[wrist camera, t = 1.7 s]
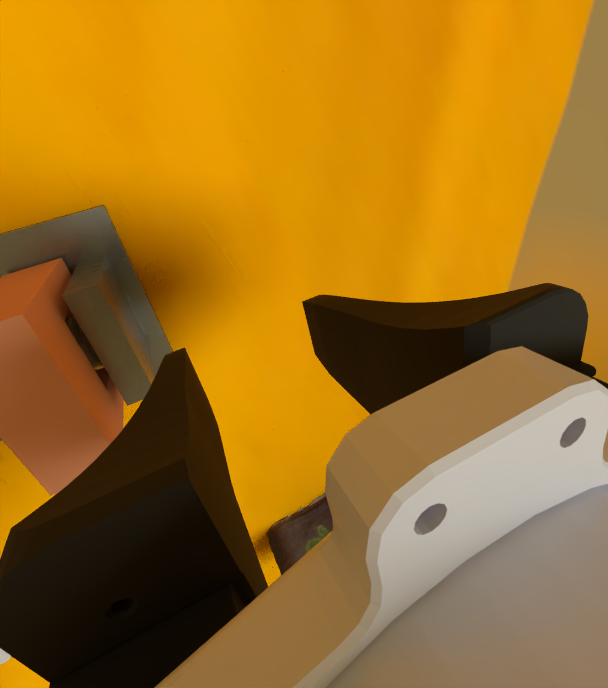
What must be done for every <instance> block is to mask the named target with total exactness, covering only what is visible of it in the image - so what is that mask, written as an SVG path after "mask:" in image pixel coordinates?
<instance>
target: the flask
mask: <svg viewBox="0 0 608 688" xmlns="http://www.w3.org/2000/svg"><path fill="white" fill-rule="evenodd" d="M332 530H333V521H332V515H331V512H330V508H329V505H328V501H327V498H326V495H325V494H324V495H322V496H319V497H318V498H317V499H315V500H314V501H313V502H312V503H311V504H310V505H309V507H307V508H301V509H300V510H299V511H298V512H297V513H295V514H294V515H290V516H289V515H288V517H286V518H285V519H283V520H281V521H279V522H276V523H274V524H273V526H272V527H271V529H270V530H269V532H268V533H266V534H268V537H269V544H270V546H271V550H272V552H273V554H274V557H275V560H276V563H277V565H278V567H279V569H280V572H281V575H283V574H284V573H285V572H286V571H287V570H288V569H289V568H291V567H292V566H293V565H294V564H295V563H296V562H297V561H298V560H300V559H301V558H302V557H303V556H304V555H305V554H306V553H308V552H309V551H310V550H311V549H312V548H313V547H314V546H315V545H317V544H318V543H319V542H320V541H321V540H322V539H323V538H325V537H326V536H327V535H328V534H329V533H330V532H331V531H332Z"/></svg>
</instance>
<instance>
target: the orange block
mask: <svg viewBox="0 0 608 688" xmlns="http://www.w3.org/2000/svg"><path fill="white" fill-rule="evenodd" d="M71 276H72V275H71V273H70V271H69V270H68V268H67V266H66V264H65V263H64V261H63V259H62V258H58V259H55V260H52V261H49V262H45V263H42V264H39V265H36V266H32V267H29V268H26V269H22V270H19V271H16V272H13V273H9V274H6V275H3V276H1V277H0V438H1V439H2V440H3V441H4V442H5V443H6V445H7V446H8V447H9V448H10V449H11V450H12V451H13V453H14V454H15V455H16V456H17V457H18V458H19V460H20V461H21V462H22V463H23V464H24V465H25V466H26V468H27V469H28V470H29V471H30V472H31V473H32V474H33V476H34V477H35V478H36V479H37V480H38V481H39V482H40V484H41V485H42V486H43V487H44V488H45V489H46V490H47V492H48V493H49V494H50V495H53V494H55V493H58V492H60V491H61V490H62V489H63V488H65V487H66V486H67V485H68V484H69V483H70V482H72V481H73V480H74V479H75V478H76V477H77V476H78V475H80V474H81V473H82V472H83V471H84V470H85V469H86V468H87V467H88V466H89V465H90V464H91V463H93V462H94V461H95V460H96V459H97V458H98V456H99V455H100V454H101V453H102V452H103V451H104V450H105V449H106V448H107V447H108V446H109V445H110V443H111V442H112V441H113V440H114V439H115V438H116V437H117V436H118V435H119V433H120V432H121V431H122V430H123V397H122V396H121V394H120V392H119V391H118V389H117V387H116V386H115V384H114V382H113V381H112V379H111V377H110V376H109V374H108V372H107V371H106V369H105V367H103V368H101V369H98V370H94V368H93V366H92V365H91V363H90V361H89V360H88V358H87V357H86V355H85V353H84V352H83V350H82V348H81V347H80V345H79V344H78V342H77V340H76V339H75V337H74V336H73V334H72V332H71V331H70V329H69V327H68V326H67V324H66V323H65V318H67V317H70V316H73V314H72V312H71V310H70V309H69V307H68V305H67V304H66V302H65V300H64V299H63V297H62V295H63V293H64V291H65V289H66V287H67V285H68V283H69V280H70V278H71Z"/></svg>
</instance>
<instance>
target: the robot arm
mask: <svg viewBox="0 0 608 688" xmlns="http://www.w3.org/2000/svg"><path fill="white" fill-rule="evenodd" d="M302 303H303V307H304V311H305V315H306V319H307V323H308V327H309V331H310V336H311V340H312V344H313V348H314V352H315V355H316V356H317V358H318V359H319V360H320V362H321V363H322V364H323V366H324V367H325V368H326V370H327V371H328V372H329V374H330V375H331V376H332V377H333V378H334V379H335V380H336V381H337V382H338V383H339V384H340V385H341V386H342V387H343V388H344V389H345V390H346V391H347V392H348V393H349V394H350V395H351V396H352V397H354V398H355V399H356V400H357V401H358V402H359V403H360V404H361V405H362V406H363V407H364V408H365V409H366V410H367V411H368V412H369V413H370V414H371V415H370V416H368V417H367V418H366V419H364V420H363V421H362V422H360V423H359V424H358V425H357V426H355V427H354V428H353V429H351V430H350V431H349V432H347V433H346V434H345V436H344V438H343V439H342V441H341V443H340V444H339V446H338V447H337V449H336V451H335V452H334V454H333V456H332V457H331V459H330V461H329V462H328V464H327V470H326V486H325V495H326V498H327V501H328V505H329V508H330V512H331V515H332V521H333V530H332V531H331V532H330V533H329V534H328V535H327V536H326V537H325V538H323V539H322V540H321V541H320V542H319V543H318V544H317V545H315V546H314V547H313V548H312V549H311V550H310V551H309V552H308V553H306V554H305V555H304V556H303V557H302V558H301V559H300V560H298V561H297V562H296V563H295V564H294V565H293V566H292V567H291V568H289V569H288V570H287V571H286V572H285V573H284V574H283V575H281V576H280V577H279V578H278V579H277V580H276V581H275V582H273V583H272V584H271V585H270V586H269V587H268V585H267V582H266V580H265V577H264V574H263V572H262V569H261V566H260V563H259V561H258V558H257V555H256V552H255V550H254V547H253V544H252V541H251V539H250V536H249V533H248V530H247V528H246V525H245V522H244V519H243V516H242V514H241V511H240V508H239V505H238V502H237V500H236V497H235V494H234V490H233V487H232V483H231V479H230V475H229V470H228V466H227V462H226V458H225V453H224V449H223V445H222V441H221V436H220V432H219V428H218V424H217V421H216V419H215V416H214V414H213V411H212V408H211V406H210V403H209V400H208V398H207V396H206V394H205V392H204V389H203V387H202V385H201V383H200V380H199V378H198V376H197V374H196V372H195V369H194V367H193V365H192V363H191V361H190V358H189V356H188V354H187V352H186V349H185V348H182V349H180V350H177V351H175V352H172V353H170V354H167V355H165V356H164V358H163V360H162V362H161V364H160V367H159V369H158V371H157V374H156V376H155V378H154V380H153V382H152V384H151V386H150V388H149V390H148V392H147V394H146V396H145V397H144V399H143V401H142V402H141V404H140V406H139V408H138V409H137V411H136V412H135V414H134V415H133V416H132V418H131V419H130V421H129V422H128V423H127V425H126V426H125V427H124V428H123V430H122V431H121V432H120V433H119V435H118V436H117V437H116V438H115V439H114V440H113V441H112V442H111V443H110V445H109V446H108V447H107V448H106V449H105V450H104V451H103V452H102V453H101V454H100V455H99V456H98V458H97V459H96V460H95V461H94V462H93V463H91V464H90V465H89V466H88V467H87V468H86V469H85V470H84V471H83V472H82V473H81V474H80V475H78V476H77V477H76V478H75V479H74V480H73V481H72V482H70V483H69V484H68V485H67V486H66V487H65V488H63V489H62V490H61V491H60V492H59V493H57V494H56V495H55V496H54V497H52V498H51V499H50V500H48V501H47V502H46V503H44V504H43V505H42V506H40V507H39V508H38V509H36V510H35V511H34V512H32V513H31V514H30V515H28V516H27V517H26V518H25V519H23V520H22V521H20V522H19V523H18V524H16V525H15V526H13V527H12V528H11V530H10V533H9V535H8V538H7V541H6V544H5V547H4V550H3V553H2V556H1V559H0V664H2V663H4V662H6V661H7V660H9V659H10V658H11V656H12V657H13V658H15V659H16V660H18V661H19V662H21V663H22V664H24V665H25V666H26V667H28V668H29V669H31V670H32V671H34V672H35V673H37V674H38V675H39V676H41V677H42V678H44V679H45V680H47V681H48V682H50V685H49V688H608V384H607V383H605V382H603V381H601V380H598V379H596V378H594V377H592V376H594V375H595V374H596V369H595V368H594V367H593V366H591V365H589V364H586V363H584V362H582V361H581V357H582V351H583V346H584V340H585V335H586V330H587V322H588V313H587V307H586V303H585V301H584V299H583V298H582V296H581V294H579V293H577V292H576V291H574V290H573V289H569V288H566V287H562V286H558V285H555V284H550V283H544V284H539V285H535V286H531V287H527V288H522V289H518V290H515V291H510V292H505V293H501V294H495V295H489V296H483V297H478V298H471V299H463V300H454V301H442V302H426V303H400V302H384V301H372V300H364V299H356V298H348V297H341V296H332V295H318V296H315V297H313V298H310V299H308V300H305V301H303V302H302Z"/></svg>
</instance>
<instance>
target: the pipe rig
mask: <svg viewBox="0 0 608 688" xmlns="http://www.w3.org/2000/svg"><path fill="white" fill-rule="evenodd" d="M58 258H62V259H63V261H64V263H65V264H66V266H67V268H68V270H69V271H70V273H71V275H72V276H71V278H70V280H69V283H68V285H67V287H66V289H65V291H64V293H63V295H62V297H63V299H64V300H65V302H66V304H67V305H68V307H69V309H70V310H71V312H72V314H73V316H70V317H67V318H65V323H66V324H67V326H68V327H69V329H70V331H71V332H72V334H73V336H74V337H75V339H76V340H77V342H78V344H79V345H80V347H81V348H82V350H83V352H84V353H85V355H86V357H87V358H88V360H89V361H90V363H91V365H92V366H93V368H94V370H98V369H101V368H103V367H105V369H106V371H107V372H108V374H109V376H110V377H111V379H112V381H113V382H114V384H115V386H116V387H117V389H118V391H119V392H120V394H121V396H122V397H123V399H124V401H125V402H126V404H127V406H128V405H130V404H133V403H135V402H138V401H140V400H142V399H144V397H145V396H146V394H147V392H148V390H149V388H150V386H151V384H152V382H153V380H154V378H155V376H156V374H157V371H158V369H159V367H160V364H161V362H162V360H163V358H164V356H165V355H167V354H170V353H172V352H173V350H172V348H171V346H170V344H169V341H168V339H167V337H166V335H165V333H164V331H163V329H162V327H161V325H160V322H159V320H158V318H157V316H156V314H155V312H154V310H153V308H152V305H151V303H150V301H149V299H148V297H147V295H146V293H145V291H144V289H143V286H142V284H141V282H140V280H139V278H138V276H137V274H136V272H135V269H134V267H133V265H132V263H131V261H130V259H129V257H128V255H127V253H126V250H125V248H124V246H123V244H122V242H121V240H120V238H119V236H118V233H117V231H116V229H115V227H114V225H113V223H112V221H111V219H110V217H109V214H108V212H107V210H106V208H105V206H104V205H102V206H99V207H95V208H91V209H88V210H84V211H81V212H77V213H73V214H70V215H66V216H63V217H59V218H56V219H52V220H48V221H45V222H41V223H38V224H34V225H31V226H27V227H23V228H20V229H16V230H13V231H9V232H6V233H2V234H0V277H1V276H3V275H6V274H9V273H13V272H16V271H19V270H22V269H26V268H29V267H32V266H36V265H39V264H42V263H45V262H49V261H52V260H55V259H58ZM1 440H2V439H1V438H0V441H1Z"/></svg>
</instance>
